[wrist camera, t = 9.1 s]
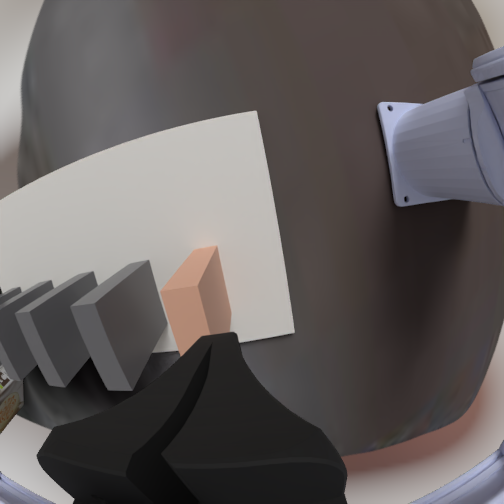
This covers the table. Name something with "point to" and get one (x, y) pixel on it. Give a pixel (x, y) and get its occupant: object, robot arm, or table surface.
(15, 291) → the domino
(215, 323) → the domino
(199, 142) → the grey mat
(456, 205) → the table surface
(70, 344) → the domino
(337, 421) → the table surface
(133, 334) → the domino
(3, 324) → the domino
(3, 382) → the coffee box
